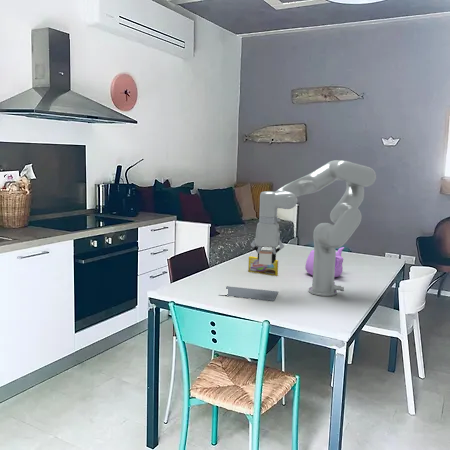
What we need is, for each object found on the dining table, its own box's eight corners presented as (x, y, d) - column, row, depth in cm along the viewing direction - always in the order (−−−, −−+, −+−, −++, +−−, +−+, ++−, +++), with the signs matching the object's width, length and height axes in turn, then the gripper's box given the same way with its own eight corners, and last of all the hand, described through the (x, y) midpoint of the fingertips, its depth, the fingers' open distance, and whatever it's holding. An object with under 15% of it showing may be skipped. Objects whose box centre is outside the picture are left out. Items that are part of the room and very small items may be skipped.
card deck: (273, 260, 203) (274, 249, 203) (270, 264, 195) (271, 253, 194) (262, 259, 205) (263, 248, 204) (258, 264, 196) (259, 252, 195)
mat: (278, 292, 207) (278, 291, 207) (273, 301, 194) (273, 300, 194) (226, 287, 213) (226, 286, 213) (218, 295, 200) (218, 294, 200)
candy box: (247, 272, 244) (248, 256, 243) (249, 271, 246) (250, 255, 245) (276, 276, 236) (277, 260, 235) (278, 275, 238) (278, 259, 237)
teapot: (329, 283, 226) (331, 253, 224) (300, 273, 243) (301, 245, 241) (360, 277, 238) (363, 249, 236) (330, 269, 256) (332, 242, 253)
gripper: (289, 220, 198) (287, 261, 201) (250, 218, 203) (249, 258, 205) (286, 222, 191) (285, 265, 194) (246, 220, 196) (245, 262, 198)
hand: (266, 261), depth 200 cm, fingers closed on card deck, 5 cm apart
